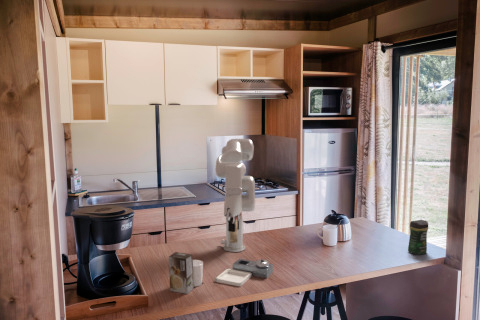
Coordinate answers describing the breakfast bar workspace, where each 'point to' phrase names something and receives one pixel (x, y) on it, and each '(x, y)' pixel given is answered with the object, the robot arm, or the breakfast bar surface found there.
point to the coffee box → (181, 272)
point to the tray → (233, 277)
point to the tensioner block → (254, 267)
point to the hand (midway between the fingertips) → (233, 229)
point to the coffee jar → (418, 237)
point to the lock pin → (234, 234)
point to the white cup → (197, 272)
